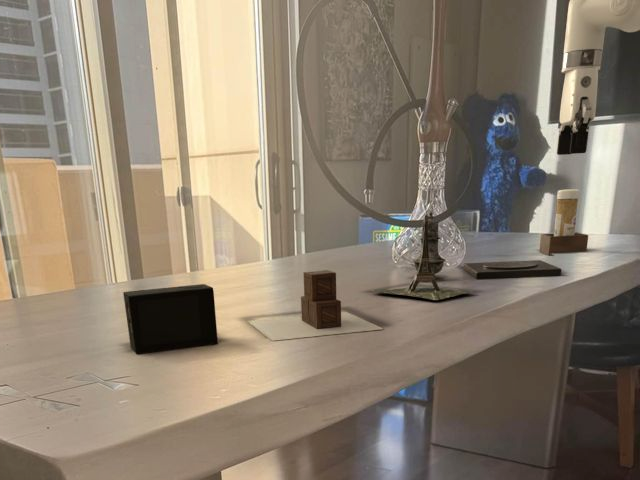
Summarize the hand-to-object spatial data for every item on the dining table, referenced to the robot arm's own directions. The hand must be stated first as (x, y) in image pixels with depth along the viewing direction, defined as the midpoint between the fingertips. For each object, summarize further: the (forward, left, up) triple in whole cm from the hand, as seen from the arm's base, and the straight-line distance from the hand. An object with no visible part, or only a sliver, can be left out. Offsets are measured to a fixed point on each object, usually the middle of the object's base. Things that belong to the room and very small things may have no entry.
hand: (570, 153), depth 151 cm
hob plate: (+18, +30, -21) cm, 41 cm away
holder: (0, 0, -21) cm, 21 cm away
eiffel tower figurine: (+37, +53, -21) cm, 68 cm away
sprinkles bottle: (0, 0, -21) cm, 21 cm away
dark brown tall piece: (+34, +36, -21) cm, 54 cm away
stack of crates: (+54, +76, -21) cm, 95 cm away
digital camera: (+71, +86, -21) cm, 113 cm away
